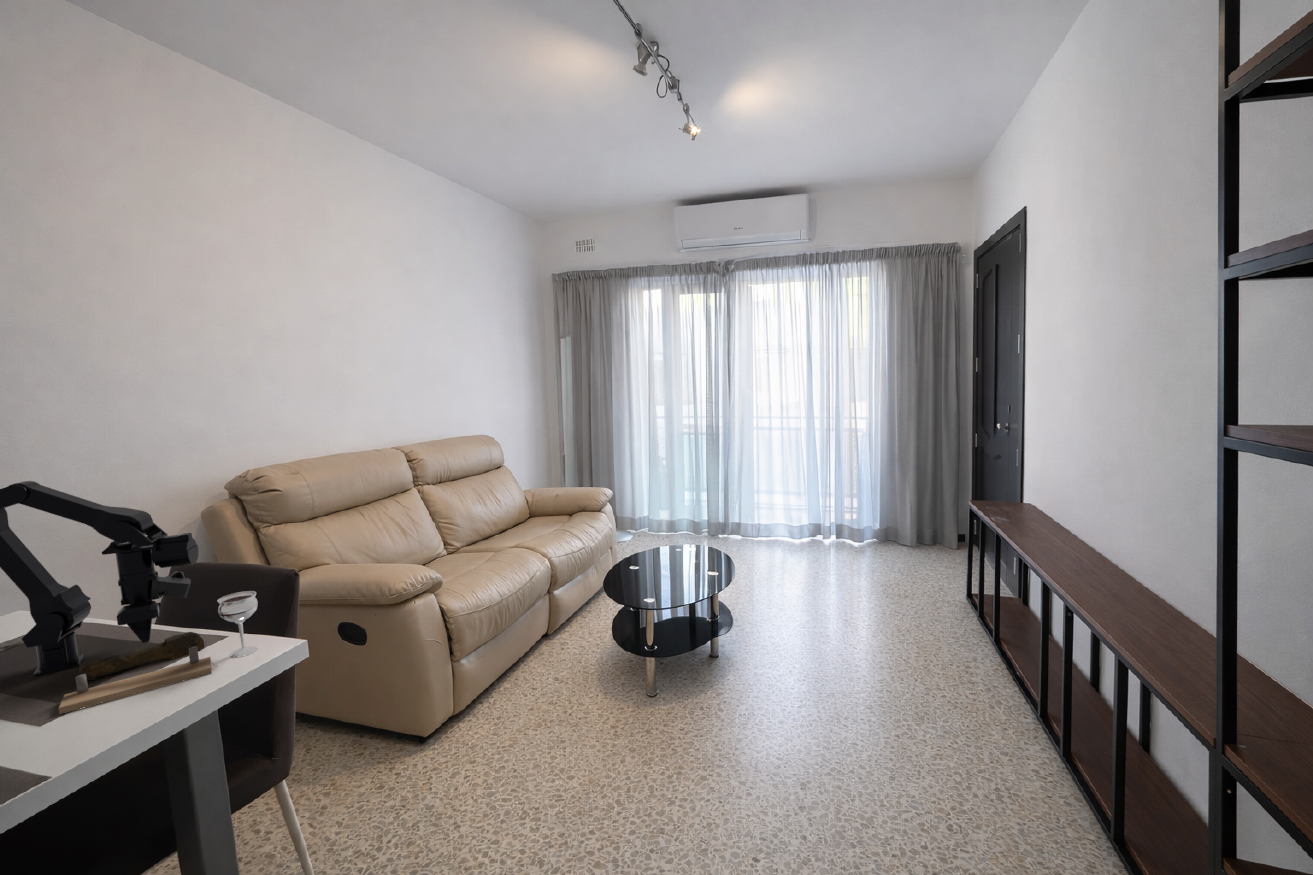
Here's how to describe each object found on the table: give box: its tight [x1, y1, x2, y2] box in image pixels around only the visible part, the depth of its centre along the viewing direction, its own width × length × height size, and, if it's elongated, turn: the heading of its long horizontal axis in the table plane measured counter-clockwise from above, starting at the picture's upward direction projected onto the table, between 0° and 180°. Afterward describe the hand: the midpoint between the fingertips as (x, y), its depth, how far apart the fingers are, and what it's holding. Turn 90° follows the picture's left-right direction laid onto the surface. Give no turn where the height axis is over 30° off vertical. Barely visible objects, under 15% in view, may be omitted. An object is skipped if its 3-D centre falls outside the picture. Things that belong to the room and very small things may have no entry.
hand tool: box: [78, 631, 205, 682], centre depth 118 cm, size 19×4×5 cm, turn 129°
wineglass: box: [216, 590, 259, 659], centre depth 122 cm, size 7×7×12 cm
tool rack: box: [58, 646, 212, 715], centre depth 109 cm, size 6×21×4 cm, turn 128°
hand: (146, 641), depth 124 cm, fingers closed
